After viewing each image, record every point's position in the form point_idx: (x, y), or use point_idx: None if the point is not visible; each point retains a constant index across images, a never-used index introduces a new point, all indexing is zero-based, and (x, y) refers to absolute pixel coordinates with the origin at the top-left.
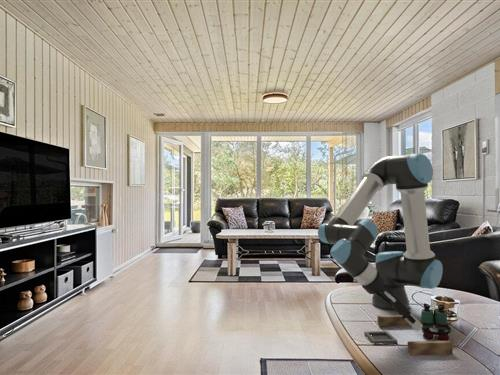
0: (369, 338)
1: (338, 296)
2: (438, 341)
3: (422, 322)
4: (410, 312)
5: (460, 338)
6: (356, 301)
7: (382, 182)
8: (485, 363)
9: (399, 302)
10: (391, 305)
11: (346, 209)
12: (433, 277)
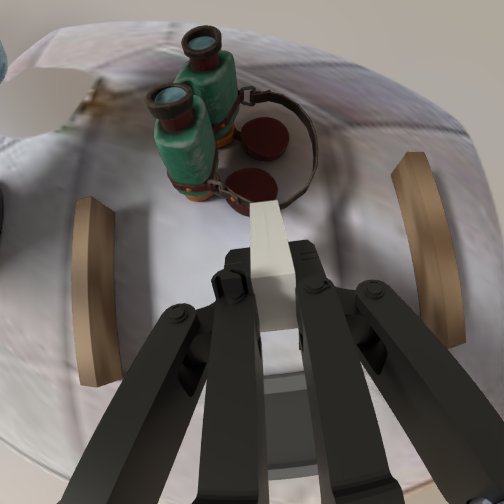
0: (296, 475)
1: None
2: (429, 201)
3: (202, 183)
4: (390, 289)
5: (249, 92)
6: None
7: None
8: (436, 120)
9: (496, 429)
10: (265, 452)
11: None
12: None
